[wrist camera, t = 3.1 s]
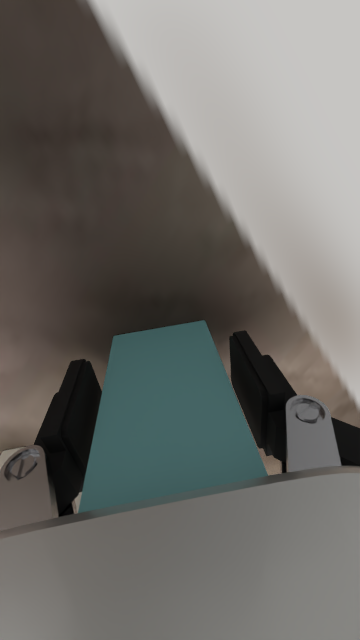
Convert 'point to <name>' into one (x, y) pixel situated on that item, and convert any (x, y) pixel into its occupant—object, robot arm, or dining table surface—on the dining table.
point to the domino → (166, 420)
